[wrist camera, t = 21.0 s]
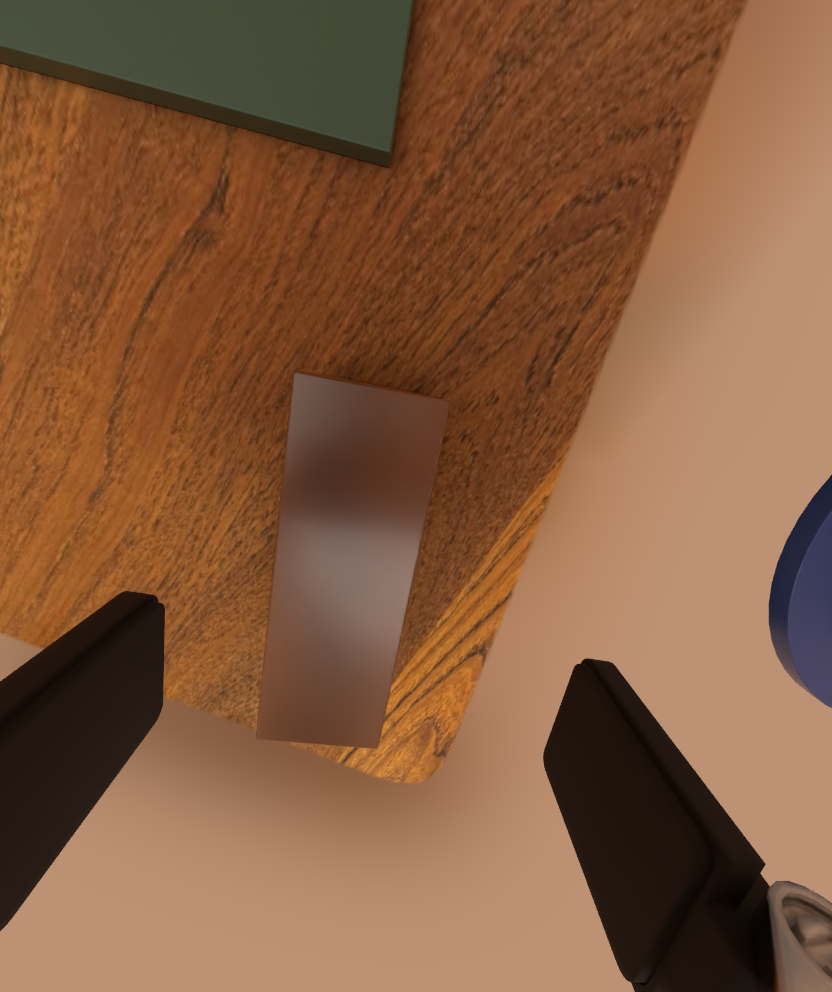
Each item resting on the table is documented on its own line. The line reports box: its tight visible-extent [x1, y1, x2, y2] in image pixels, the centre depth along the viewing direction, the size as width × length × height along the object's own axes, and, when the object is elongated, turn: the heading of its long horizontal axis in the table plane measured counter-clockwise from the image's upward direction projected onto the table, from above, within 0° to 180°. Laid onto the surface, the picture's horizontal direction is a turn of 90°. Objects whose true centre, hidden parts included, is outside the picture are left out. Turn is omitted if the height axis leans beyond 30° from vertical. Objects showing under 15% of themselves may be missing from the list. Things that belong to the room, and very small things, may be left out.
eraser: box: [256, 371, 450, 749], centre depth 15 cm, size 4×13×6 cm, turn 169°
